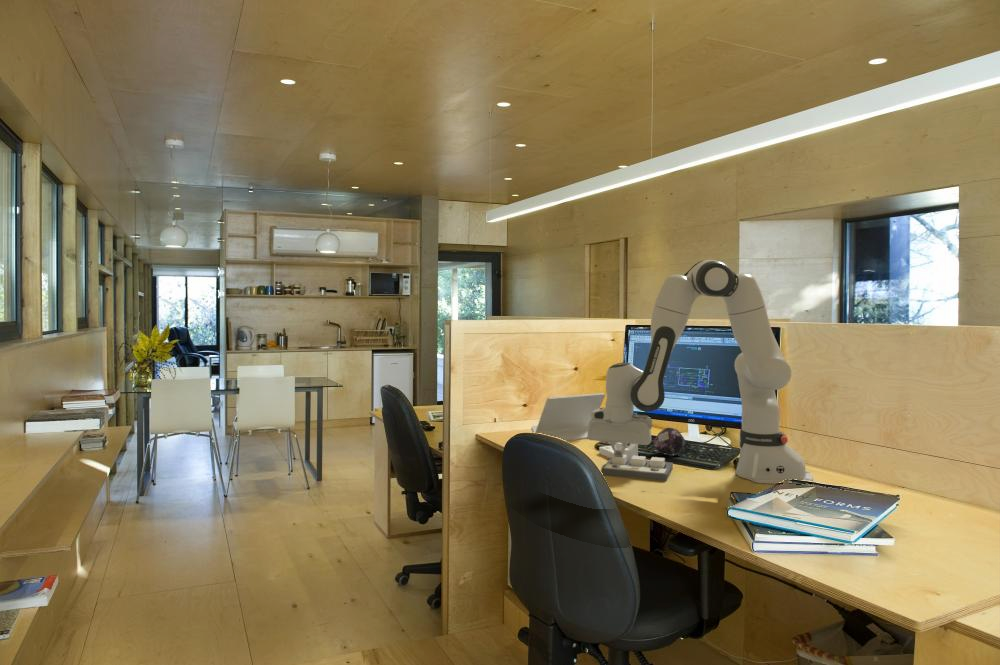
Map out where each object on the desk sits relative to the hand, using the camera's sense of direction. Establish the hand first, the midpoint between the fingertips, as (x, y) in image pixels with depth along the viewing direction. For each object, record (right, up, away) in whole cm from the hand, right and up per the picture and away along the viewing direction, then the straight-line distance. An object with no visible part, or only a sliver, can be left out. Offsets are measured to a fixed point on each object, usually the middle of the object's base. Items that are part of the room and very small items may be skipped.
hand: (618, 455), depth 227 cm
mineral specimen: (+21, -4, +21) cm, 30 cm away
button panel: (+5, -6, -3) cm, 8 cm away
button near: (+11, -3, -4) cm, 12 cm away
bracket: (+2, -4, +15) cm, 16 cm away
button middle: (+6, -3, -2) cm, 7 cm away
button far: (0, -3, 0) cm, 3 cm away
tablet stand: (-11, -1, +53) cm, 54 cm away
